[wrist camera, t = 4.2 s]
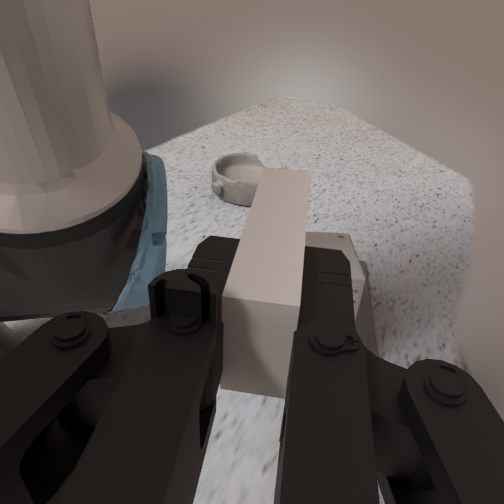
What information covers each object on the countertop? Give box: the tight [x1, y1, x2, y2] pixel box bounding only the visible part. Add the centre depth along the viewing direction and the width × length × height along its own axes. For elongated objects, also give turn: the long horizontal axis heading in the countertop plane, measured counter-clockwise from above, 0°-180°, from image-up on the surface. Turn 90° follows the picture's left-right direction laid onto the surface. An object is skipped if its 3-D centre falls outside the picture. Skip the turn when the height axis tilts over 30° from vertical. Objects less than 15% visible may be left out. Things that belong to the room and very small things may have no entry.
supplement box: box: [305, 232, 365, 320], centre depth 41 cm, size 7×7×13 cm
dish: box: [211, 153, 287, 206], centre depth 75 cm, size 14×14×5 cm
